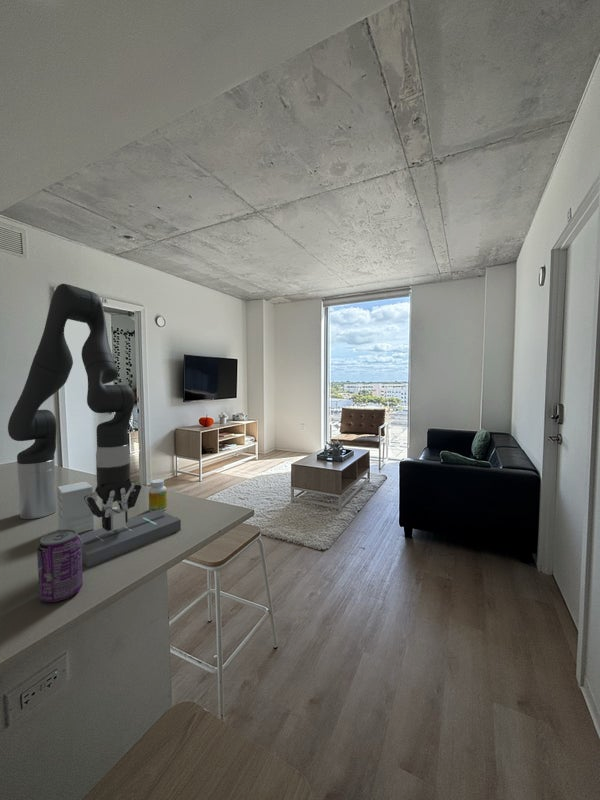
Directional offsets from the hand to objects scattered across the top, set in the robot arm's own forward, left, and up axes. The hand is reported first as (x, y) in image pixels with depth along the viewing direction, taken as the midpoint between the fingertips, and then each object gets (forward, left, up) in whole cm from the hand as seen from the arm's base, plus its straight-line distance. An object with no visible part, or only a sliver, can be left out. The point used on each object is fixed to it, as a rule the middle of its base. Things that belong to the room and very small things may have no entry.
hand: (115, 527), depth 86 cm
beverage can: (+12, -16, -5) cm, 20 cm away
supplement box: (-18, -3, -5) cm, 19 cm away
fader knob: (0, 0, -1) cm, 1 cm away
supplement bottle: (-13, +19, -5) cm, 24 cm away
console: (0, +3, -5) cm, 6 cm away
